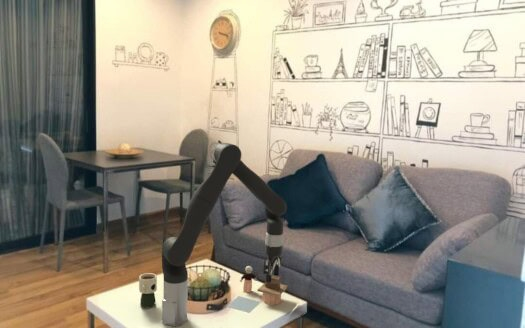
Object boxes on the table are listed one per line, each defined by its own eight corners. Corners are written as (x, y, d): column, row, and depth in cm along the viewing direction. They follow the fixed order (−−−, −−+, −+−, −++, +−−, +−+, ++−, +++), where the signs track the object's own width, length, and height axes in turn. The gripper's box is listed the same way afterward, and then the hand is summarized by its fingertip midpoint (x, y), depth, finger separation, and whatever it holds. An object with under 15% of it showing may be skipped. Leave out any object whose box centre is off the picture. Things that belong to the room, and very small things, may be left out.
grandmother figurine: (241, 295, 196) (242, 268, 194) (238, 291, 199) (239, 265, 197) (257, 292, 199) (258, 266, 196) (254, 289, 202) (255, 263, 200)
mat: (249, 314, 179) (249, 312, 179) (226, 307, 184) (226, 306, 184) (260, 303, 189) (260, 301, 189) (238, 297, 194) (238, 295, 194)
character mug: (151, 312, 177) (151, 282, 175) (135, 311, 178) (134, 281, 176) (160, 300, 188) (160, 271, 186) (144, 299, 189) (144, 270, 187)
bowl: (276, 307, 185) (276, 294, 185) (259, 303, 189) (259, 290, 188) (283, 299, 193) (284, 287, 192) (267, 295, 196) (267, 283, 195)
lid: (278, 296, 183) (279, 283, 182) (257, 291, 187) (257, 278, 186) (287, 287, 192) (288, 275, 191) (267, 282, 196) (267, 270, 195)
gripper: (272, 237, 194) (271, 271, 197) (259, 246, 182) (257, 283, 184) (288, 240, 191) (286, 274, 194) (275, 249, 179) (273, 286, 181)
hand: (272, 278), depth 189 cm, fingers open, 8 cm apart
